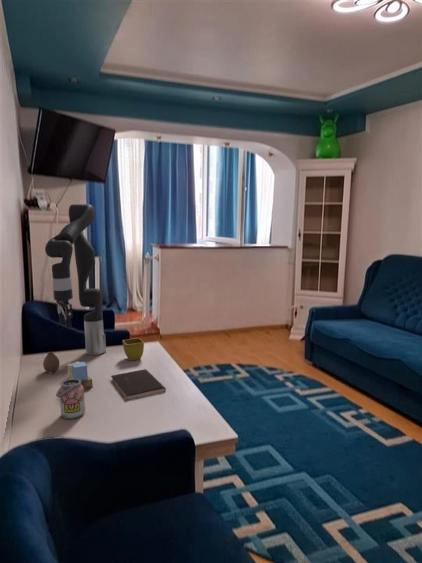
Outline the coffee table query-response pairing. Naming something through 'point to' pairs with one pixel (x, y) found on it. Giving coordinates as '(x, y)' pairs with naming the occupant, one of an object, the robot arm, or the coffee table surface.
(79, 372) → the blue block
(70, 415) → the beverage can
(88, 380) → the walnut base
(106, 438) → the coffee table surface
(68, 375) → the beech block
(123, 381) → the hardcover book
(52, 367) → the brown oval piece
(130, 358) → the flower pot
